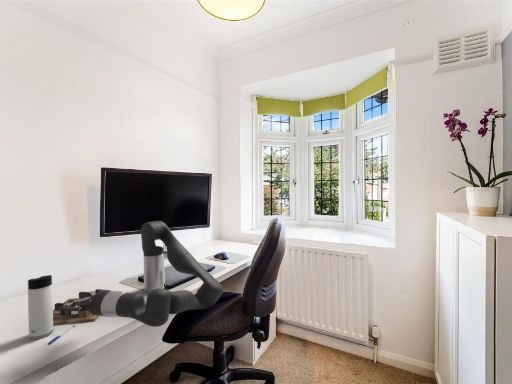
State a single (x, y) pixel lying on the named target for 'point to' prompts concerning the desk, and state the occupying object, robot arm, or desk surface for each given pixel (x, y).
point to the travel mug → (40, 307)
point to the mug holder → (83, 317)
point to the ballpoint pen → (60, 335)
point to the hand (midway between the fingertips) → (68, 300)
